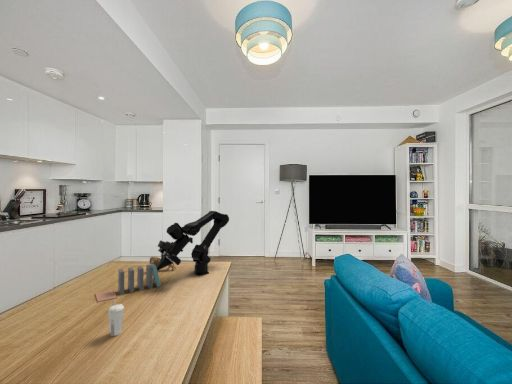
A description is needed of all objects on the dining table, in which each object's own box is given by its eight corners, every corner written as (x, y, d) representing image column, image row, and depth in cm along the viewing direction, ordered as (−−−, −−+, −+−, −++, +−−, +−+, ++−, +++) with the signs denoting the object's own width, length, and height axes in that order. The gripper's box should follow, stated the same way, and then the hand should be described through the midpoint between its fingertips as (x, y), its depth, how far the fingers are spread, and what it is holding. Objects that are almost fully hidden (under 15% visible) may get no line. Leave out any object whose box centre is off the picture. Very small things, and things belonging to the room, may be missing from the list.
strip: (113, 290, 115) (113, 289, 115) (116, 298, 107) (116, 297, 107) (95, 294, 111) (95, 293, 111) (97, 302, 103) (97, 301, 103)
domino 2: (131, 288, 118) (131, 267, 118) (133, 292, 114) (134, 270, 114) (127, 289, 117) (128, 268, 117) (130, 292, 113) (130, 270, 113)
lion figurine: (149, 274, 138) (149, 258, 138) (148, 271, 143) (149, 255, 142) (177, 270, 145) (177, 255, 145) (175, 267, 149) (175, 252, 149)
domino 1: (122, 290, 115) (122, 269, 115) (124, 294, 111) (124, 271, 111) (118, 291, 114) (118, 269, 114) (120, 295, 110) (120, 272, 110)
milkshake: (119, 327, 85) (119, 297, 85) (126, 332, 82) (126, 302, 81) (104, 332, 81) (104, 302, 81) (111, 339, 78) (111, 307, 78)
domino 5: (157, 282, 125) (153, 263, 123) (160, 285, 121) (156, 266, 119) (154, 283, 124) (150, 265, 123) (157, 287, 120) (152, 267, 119)
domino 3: (140, 286, 120) (141, 265, 120) (143, 290, 116) (143, 268, 116) (137, 287, 119) (137, 266, 119) (139, 290, 115) (139, 269, 115)
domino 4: (149, 284, 123) (149, 264, 122) (152, 288, 119) (152, 267, 118) (146, 285, 122) (146, 265, 121) (148, 288, 118) (149, 267, 118)
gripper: (162, 232, 133) (139, 255, 126) (174, 237, 118) (149, 264, 111) (176, 245, 137) (155, 268, 131) (190, 252, 123) (167, 278, 116)
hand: (156, 269), depth 122 cm, fingers closed
